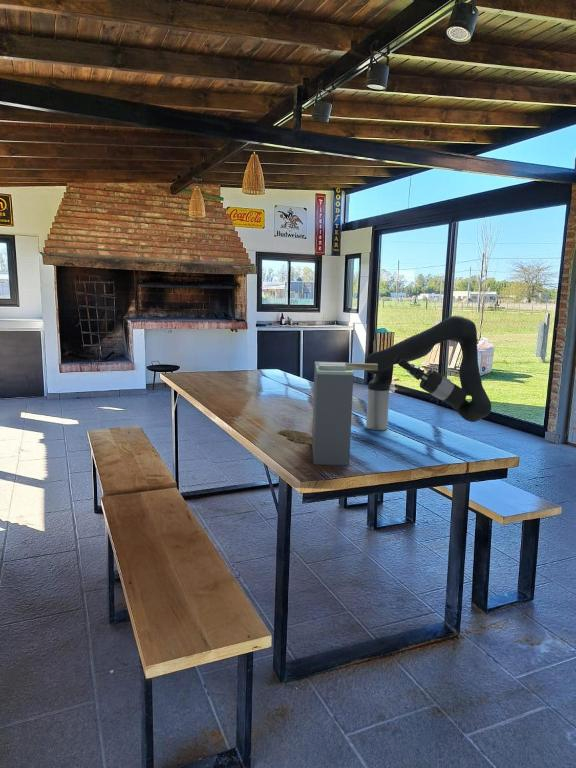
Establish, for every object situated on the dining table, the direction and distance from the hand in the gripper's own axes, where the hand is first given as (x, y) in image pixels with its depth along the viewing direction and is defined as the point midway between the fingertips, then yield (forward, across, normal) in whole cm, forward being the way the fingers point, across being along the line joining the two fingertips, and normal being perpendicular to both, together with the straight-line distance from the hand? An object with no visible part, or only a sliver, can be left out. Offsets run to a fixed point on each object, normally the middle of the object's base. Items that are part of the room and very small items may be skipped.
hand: (397, 360), depth 187 cm
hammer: (+14, 0, +12) cm, 18 cm away
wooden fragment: (+10, -26, +48) cm, 55 cm away
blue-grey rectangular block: (+1, -5, +42) cm, 42 cm away
